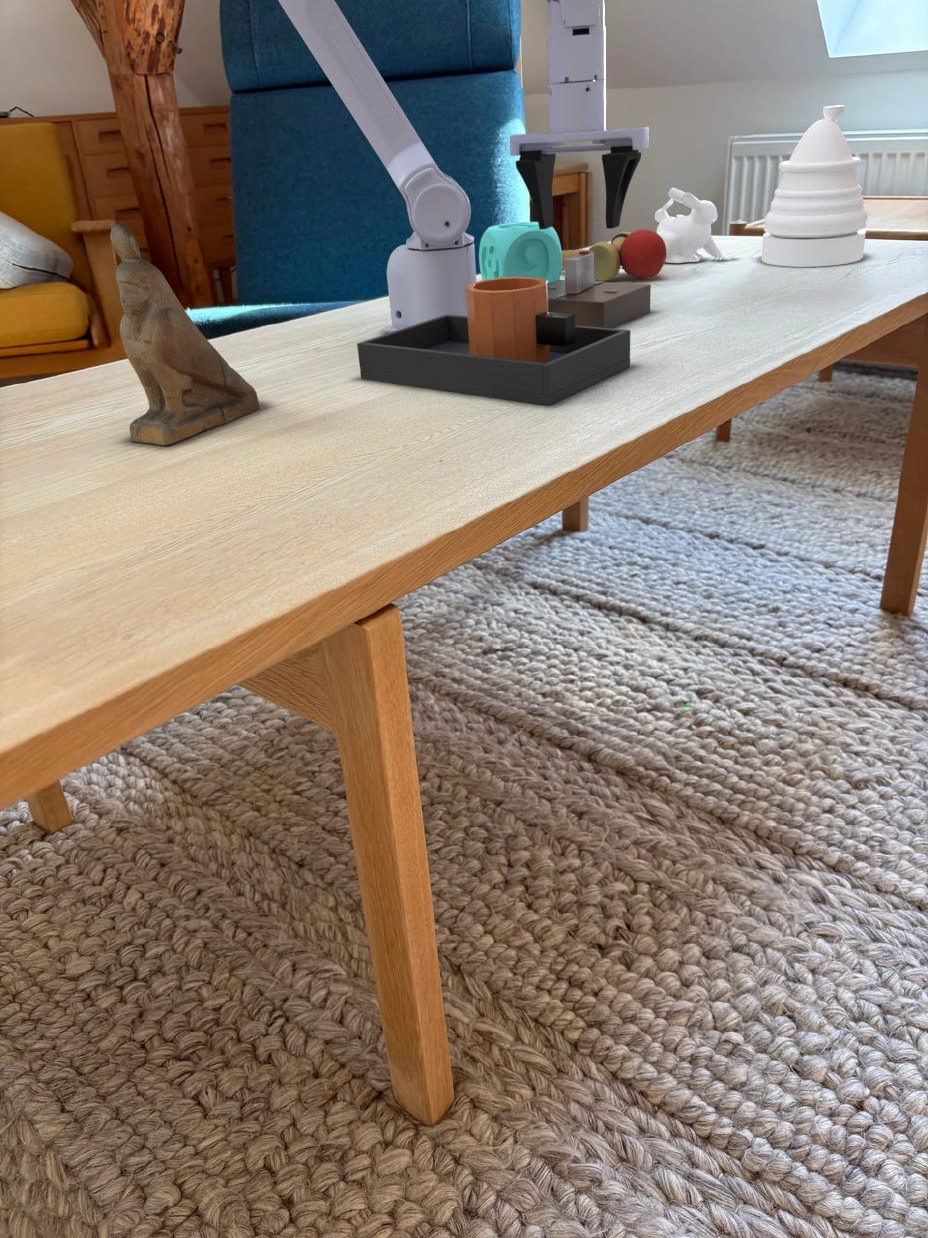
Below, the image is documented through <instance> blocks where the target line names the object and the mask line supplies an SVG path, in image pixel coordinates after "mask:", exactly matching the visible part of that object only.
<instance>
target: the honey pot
mask: <svg viewBox="0 0 928 1238" xmlns="http://www.w3.org/2000/svg"><path fill="white" fill-rule="evenodd" d="M845 106H846V105H830V106H823V107H822V113H823V118H822V119H821V118H820V119H819V120H817V121H815V122H813V123H812V124H811V125H810V126H809V127H808V129H806V131H805V132H804V133H803V135H802V136H801V138H800V140H799V141H798V143H797V144H796V146H795V148H794V150H793V151H792V154H791V156H790V157H789V159H788V160H786V161H782V162H780V163H779V165H778V169H779V171H780V172H783V173H782V176H781V178H780V181H779V183H778V186H777V188H776V189H775V190H774V193H773V194H774V197H773V199H772V201H771V202H770V205H769V206H770V209H769V211H768V212H767V213H766V215H765V217H764V221H763V224H764V227H763V231H764V233H763V235H762V248H761V262H762V263H764V264H766V265H772V266H778V267H791V268H813V267H815V268H816V267H817V268H818V267H831V266H839V265H847V264H851V263H856V262H858V261H861V260H863V258H864V250H865V242H866V233H867V232H866V230H865V228H867V221H868V212H867V211H866V209H865V208H864V203H865V201H864V198H863V196H862V191H863V188H862V185H860V181H859V177H858V173H857V168H858V167H860V166H861V165H862V160H861V159H860V158H859V157H853V155H852V152H851V148H850V146H849V144H848V142H847V141H848V140H847V139H846V137H845V135H844V133H843V131H842V130H841V128H840V127H839V125H837V122H838V121H839V120H840V119H841V118H842V116H843V114H844V111H845Z"/></svg>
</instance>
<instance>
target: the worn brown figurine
mask: <svg viewBox="0 0 928 1238" xmlns="http://www.w3.org/2000/svg"><path fill="white" fill-rule="evenodd" d="M110 230H111V231H110V235H109V236H110V241H111V245H112V246H113V247H112V248H113V249H114V251H115V253H116V254H117V256H118V257H119V259H120V263H119V264H118V265H117V267H116V269H115V281H116V284H117V289H118V291H119V300H120V304H121V306H122V308H123V311H124V313H123V314H122V316H121V319H120V324H119V334H120V335H119V336H120V339H121V343H122V346H123V349H124V352H125V355H126V357H127V360H128V362H129V364H130V365H131V367H132V368H133V370H134V371H135V373H136V375H137V378H138V379H139V382H140V385H141V386H142V387H143V390H144V393H145V395H146V398H147V402H148V405H149V407H148V410H147V411H146V412H145V413H144V414H143V415H141V416H140V417H137V418H135V419H134V420H133V421H132V422H131V423H130V424H129V433H130V434H129V435H130V442H135V443H136V442H137V443H144V444H148V445H149V444H151V445H157V446H169V445H173V444H174V443H175V444H176V443H177V442H181V441H183V440H185V439H188V438H191V437H193V436H195V435H199V434H200V433H201V432H203V431H208V430H210V429H212V428H213V429H214V428H215V427H218V426H221V425H223V424H227V423H230V422H231V421H232V420H235V419H239V418H240V417H241V418H242V416H245V415H249V414H251V413H253V412H254V411H256V410H259V408H260V402H259V397H258V393H257V391H256V390H255V387H253V386H252V384H250V383H249V382H248V381H246V379H245V378H244V377H243V376H242V375H241V374H239V372H238V371H237V370H236V369H234V368H232V367H231V366H230V364H229V363H228V361H227V360H225V358H224V357H223V356H222V354H220V352H219V351H218V350H217V349H216V348H215V347H214V346H213V345H212V344H211V342H210V341H209V340H208V339H207V338H206V336H205V335H204V334H203V333H202V332H201V330H200V329H199V328H198V327H197V325H196V324H195V323H194V321H193V320H192V318H191V317H190V315H189V314H188V313H187V311H186V310H185V309H184V307H183V305H182V304H181V302H180V301H179V299H178V298H177V296H176V294H175V292H174V291H173V289H172V287H171V286H170V284H169V283H168V281H167V279H166V278H165V276H164V274H163V273H162V271H161V270H160V269H158V267H156V266H155V265H154V264H151V263H150V262H148V261H146V260H143V258H142V255H141V251H140V246H139V243H138V241H137V238H136V237H135V236H134V233H133V232H132V231H131V230H130V229H129V228H128V226H127V225H125V224H124V223H122V222H118V223H113V225H112V226H111V229H110Z"/></svg>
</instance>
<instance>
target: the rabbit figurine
mask: <svg viewBox="0 0 928 1238" xmlns="http://www.w3.org/2000/svg"><path fill="white" fill-rule="evenodd" d="M667 195H668V198H669V200H668V201H667V202H666V203H665V204H663V205H662V207H661V208H659V209H657V210H656V211H655V213H654V220H655V222H657V223H658V226H657V227H656V233H657V234H659V235H660V236H661V238H662V239H663V240H664V242H665V245H666V252H667V254H666V260H665V263H670V264H683V263H698V262H700V260H704V258H705V256H704V254H703V253H702V252H698V250H700V249H703V250H704V251H705V252H706V253H707V254H709V255H710V256H711V257H712V258H714V259H715V261H729V260H731V259H733V257H732V256H730V255H728V256H726V255H724V254H723V252H722V250H721V249H720V247H719V246H718V244H717V242H716V241H715V239H714V238H713V236H712V227H711V225H712V224H713V223H715V222H716V221H717V220H718V211H717V208H716V206H715V204H714V203H713V202H711V201H710V200H705V199H702V200H699V199H698V198H697V197H696V196H694V194H693V193H691V192H685V191H683V190H681V189H678V187H677V188H676V187H671V188H670V189H669V191H668V193H667ZM674 201H675V202H678V203H681V204H682V205H684V206H686V207H688V208H689V209H691V211H690V214H687V215H683V214H676V217H675V216H669V214H668V212H667V210H668V209H669V208H670V207H671V206H672V205H673V203H674Z"/></svg>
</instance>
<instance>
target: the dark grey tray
mask: <svg viewBox="0 0 928 1238" xmlns="http://www.w3.org/2000/svg"><path fill="white" fill-rule="evenodd" d="M356 348H357V354H358V356H357V357H358V364H359V370H360V371H359V372H360V379H361V380H368V381H375V382H380V383H388V384H395V385H396V384H397V385H402V386H410V387H417V388H423V389H430V390H438V391H445V392H453V393H458V394H459V393H460V394H465V395H474V396H481V397H486V398H493V399H494V398H495V399H501V400H508V401H509V400H510V401H516V402H523V403H530V404H536V405H545V406H551V405H554V404H556V403H557V402H560V401H562V400H564V399H565V398H568V397H570V396H572V395H574V394H576V393H579V392H580V391H583V390H585V389H587V388H589V387H591V386H593V385H595V384H597V383H599V382H602V381H603V380H606V379H608V378H609V377H612V376H614V375H616V374H618V373H620V372H623V371H624V370H626V369H628V368H630V367H631V330H630V329H623V328H600V327H588V326H576V325H575V343H573V344H571V345H568V346H566V347H563V346H553V345H549V362H548V363H542V362H533V361H525V360H516V359H507V358H498V357H489V356H480V355H471V354H470V347H469V331H468V316H458V315H443V316H440V317H437V318H434V319H431V320H428V321H425V322H422V323H419V324H416V325H413V326H409V327H406V328H403V329H400V330H397V331H394V332H391V333H390V332H387V333H385V334H382V335H379V336H376V337H373V338H370V339H366V340H363V341H360V342H358V343H356Z"/></svg>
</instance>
